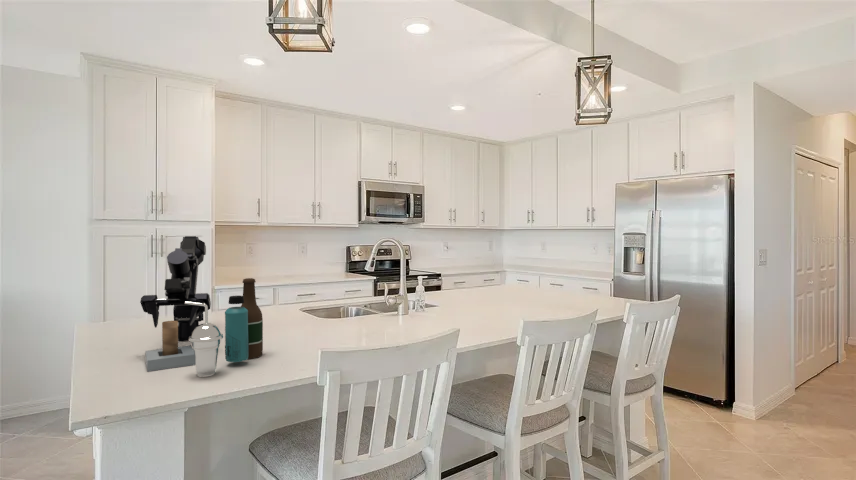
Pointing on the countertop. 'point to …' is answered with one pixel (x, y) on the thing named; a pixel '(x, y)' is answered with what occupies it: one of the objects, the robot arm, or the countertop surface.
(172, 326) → the peg
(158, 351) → the socket
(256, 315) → the beer bottle
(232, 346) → the beverage bottle
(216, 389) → the countertop surface
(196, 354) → the cup with straw
